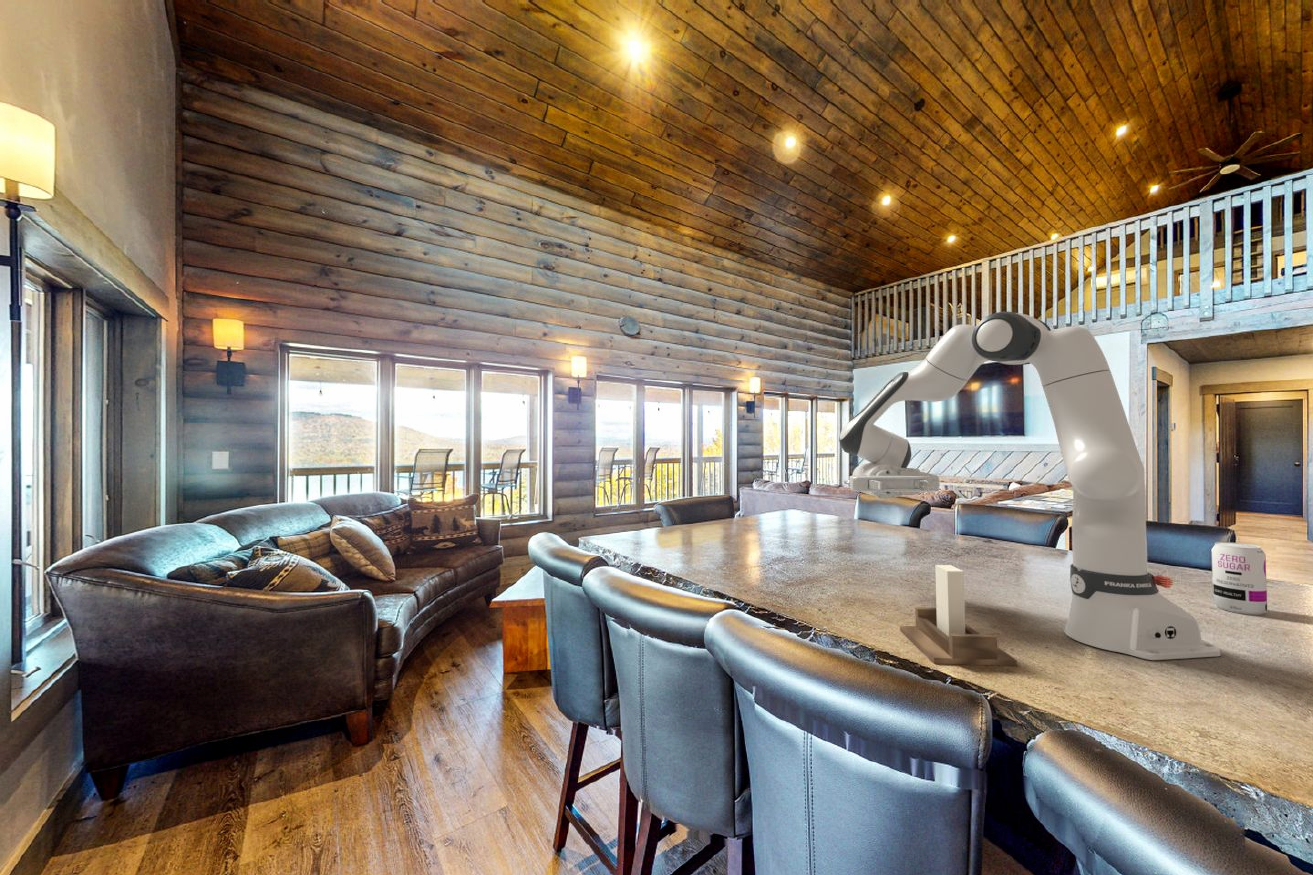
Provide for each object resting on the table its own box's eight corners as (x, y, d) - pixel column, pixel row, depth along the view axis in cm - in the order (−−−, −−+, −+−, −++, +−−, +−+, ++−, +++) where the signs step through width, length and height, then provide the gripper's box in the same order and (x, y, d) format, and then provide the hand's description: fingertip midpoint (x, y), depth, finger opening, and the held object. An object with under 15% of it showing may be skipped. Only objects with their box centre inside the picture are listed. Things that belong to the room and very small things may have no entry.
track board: (969, 632, 105) (969, 608, 105) (1016, 665, 89) (1016, 637, 89) (900, 630, 106) (899, 606, 106) (934, 663, 90) (933, 635, 90)
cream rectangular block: (952, 634, 101) (950, 565, 101) (965, 644, 96) (963, 571, 96) (937, 634, 101) (935, 565, 101) (949, 644, 96) (947, 571, 96)
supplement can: (1257, 607, 117) (1255, 543, 117) (1275, 618, 110) (1272, 550, 111) (1207, 602, 122) (1205, 540, 122) (1221, 612, 115) (1219, 546, 115)
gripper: (841, 469, 130) (857, 472, 116) (924, 468, 128) (950, 471, 114) (842, 493, 130) (858, 499, 116) (924, 493, 128) (950, 499, 114)
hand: (904, 485), depth 115 cm, fingers open, 8 cm apart
